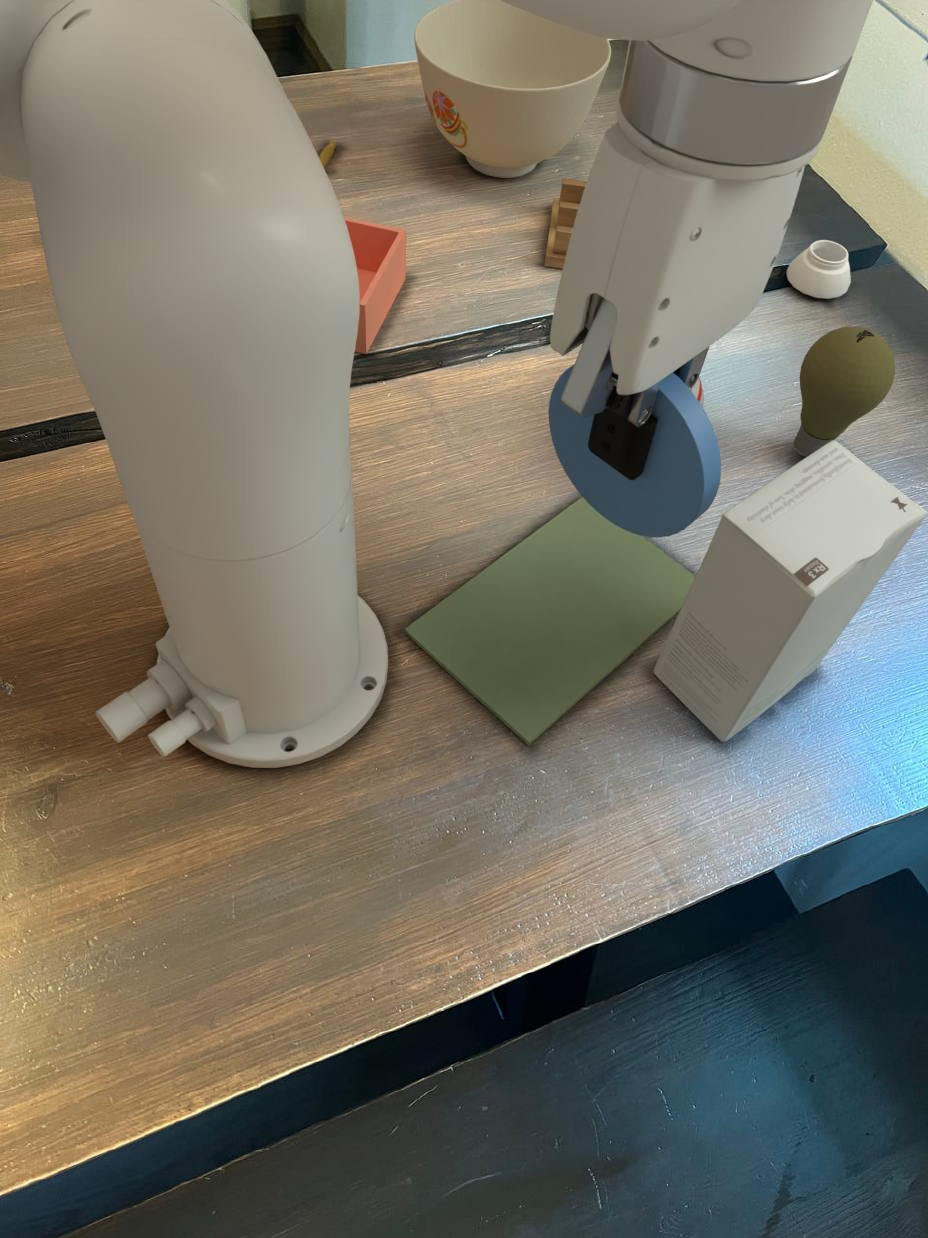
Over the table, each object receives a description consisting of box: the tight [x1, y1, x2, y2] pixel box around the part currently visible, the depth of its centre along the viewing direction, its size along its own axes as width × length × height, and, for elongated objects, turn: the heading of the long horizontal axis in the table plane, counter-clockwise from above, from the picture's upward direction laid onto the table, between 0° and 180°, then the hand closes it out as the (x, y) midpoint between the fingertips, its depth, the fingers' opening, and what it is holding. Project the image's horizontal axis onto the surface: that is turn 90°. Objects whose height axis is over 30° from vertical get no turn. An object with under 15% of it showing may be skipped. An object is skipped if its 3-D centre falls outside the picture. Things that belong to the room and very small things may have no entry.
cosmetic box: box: [652, 440, 928, 743], centre depth 49 cm, size 8×6×15 cm
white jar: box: [786, 239, 852, 300], centre depth 77 cm, size 5×3×5 cm
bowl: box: [413, 0, 612, 179], centre depth 82 cm, size 16×16×10 cm
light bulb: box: [793, 326, 896, 459], centre depth 63 cm, size 6×6×10 cm
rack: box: [543, 178, 587, 270], centre depth 78 cm, size 8×11×3 cm
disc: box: [548, 364, 722, 538], centre depth 49 cm, size 1×10×10 cm, turn 45°
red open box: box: [344, 216, 407, 355], centre depth 69 cm, size 18×10×10 cm, turn 75°
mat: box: [404, 496, 696, 746], centre depth 57 cm, size 16×10×1 cm, turn 135°
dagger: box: [318, 139, 338, 174], centre depth 82 cm, size 11×1×2 cm
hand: (627, 451), depth 49 cm, fingers closed on disc, 1 cm apart
